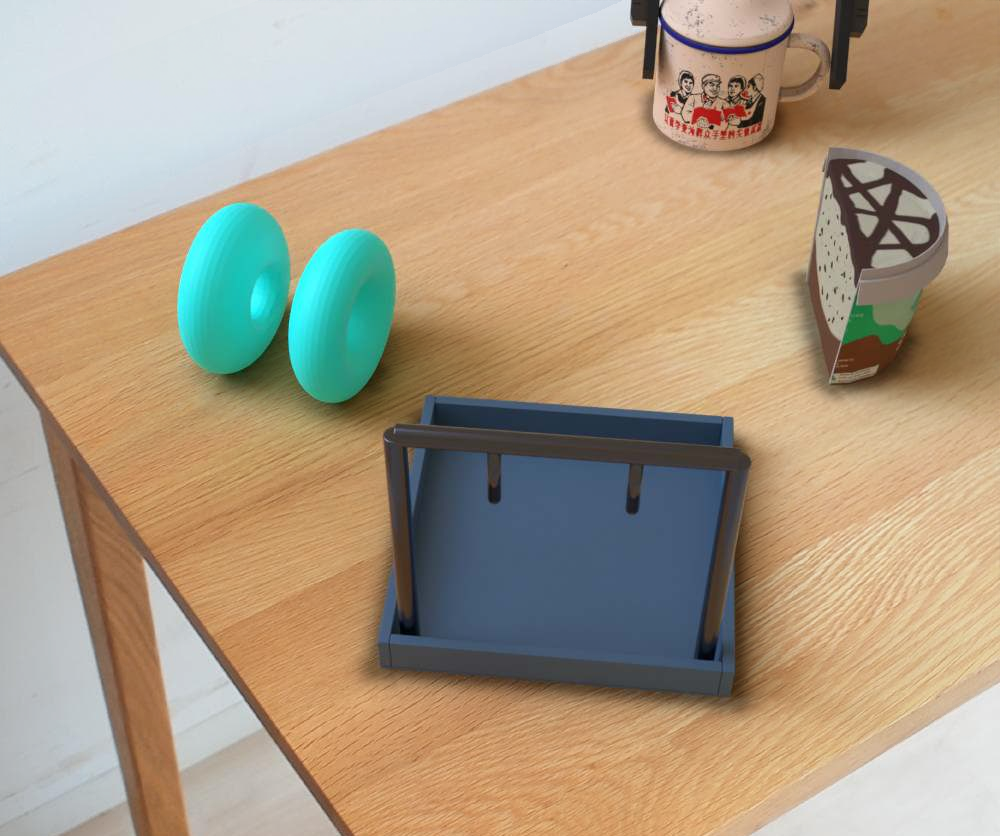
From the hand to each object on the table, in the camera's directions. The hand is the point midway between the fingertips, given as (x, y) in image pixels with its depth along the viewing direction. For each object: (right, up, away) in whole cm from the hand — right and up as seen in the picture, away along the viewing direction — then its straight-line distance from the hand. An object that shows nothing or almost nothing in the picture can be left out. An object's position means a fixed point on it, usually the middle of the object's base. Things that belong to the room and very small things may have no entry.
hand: (742, 80), depth 98 cm
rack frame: (-14, -37, -26) cm, 47 cm away
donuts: (-28, -21, -11) cm, 37 cm away
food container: (+6, -19, -9) cm, 22 cm away
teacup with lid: (0, -2, +6) cm, 6 cm away
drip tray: (-13, -31, -21) cm, 40 cm away
